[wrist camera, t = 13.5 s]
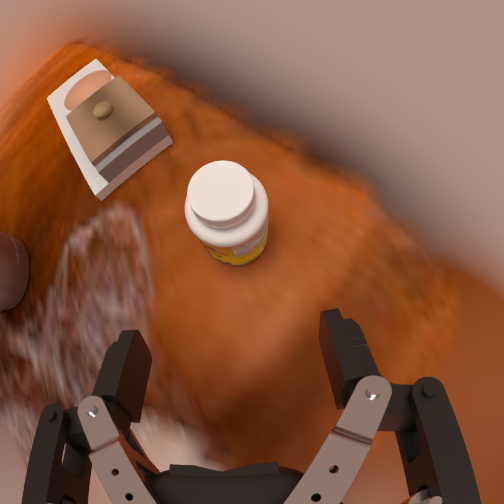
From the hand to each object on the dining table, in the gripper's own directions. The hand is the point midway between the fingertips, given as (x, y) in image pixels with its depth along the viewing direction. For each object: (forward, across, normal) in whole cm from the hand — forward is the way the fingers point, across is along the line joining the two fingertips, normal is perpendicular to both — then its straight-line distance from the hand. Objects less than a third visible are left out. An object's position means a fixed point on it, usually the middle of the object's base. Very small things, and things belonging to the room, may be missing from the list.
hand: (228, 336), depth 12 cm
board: (+28, +17, -11) cm, 35 cm away
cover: (+24, +12, -8) cm, 28 cm away
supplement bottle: (+15, 0, +3) cm, 15 cm away
